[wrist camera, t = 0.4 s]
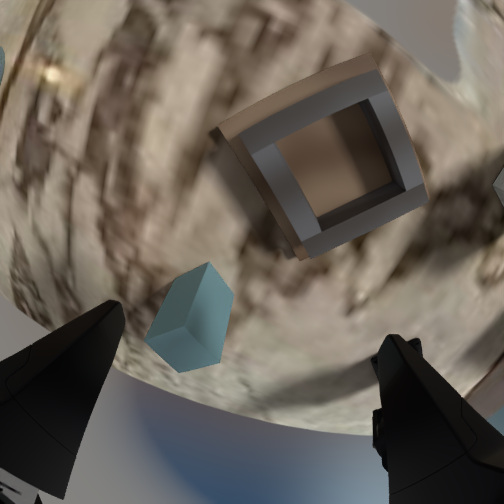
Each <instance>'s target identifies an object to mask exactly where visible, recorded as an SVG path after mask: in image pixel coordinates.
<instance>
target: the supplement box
mask: <svg viewBox="0 0 504 504" xmlns="http://www.w3.org/2000/svg"><path fill="white" fill-rule="evenodd" d="M493 187H494V189H495V191H496V193H497V195H498V197H499V199H500V201H501V203H502V205H503V207H504V168H503V169H502V171H501V172H500V174H499V176H498V177H497V179H496V180H495V182H494V183H493Z"/></svg>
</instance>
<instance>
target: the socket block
mask: <svg viewBox="0 0 504 504" xmlns="http://www.w3.org/2000/svg"><path fill="white" fill-rule="evenodd" d="M218 127H219V129H220V130H221V132H222V134H223V135H224V137H225V138H226V140H227V141H228V143H229V144H230V146H231V148H232V149H233V151H234V152H235V154H236V156H237V157H238V159H239V160H240V162H241V164H242V165H243V167H244V168H245V170H246V172H247V173H248V175H249V176H250V178H251V180H252V181H253V183H254V185H255V186H256V188H257V190H258V191H259V193H260V194H261V196H262V198H263V199H264V201H265V203H266V204H267V206H268V208H269V209H270V211H271V213H272V214H273V216H274V218H275V220H276V221H277V223H278V225H279V226H280V228H281V230H282V231H283V233H284V235H285V237H286V238H287V240H288V242H289V244H290V245H291V247H292V249H293V250H294V252H295V254H296V256H297V257H298V259H299V261H302V260H304V259H306V258H308V257H310V258H311V259H312V258H314V257H316V256H318V255H320V254H322V253H325V252H327V251H329V250H331V249H333V248H335V247H338V246H340V245H342V244H344V243H346V242H348V241H350V240H352V239H354V238H357V237H359V236H361V235H363V234H365V233H367V232H369V231H371V230H373V229H375V228H377V227H379V226H381V225H384V224H386V223H388V222H390V221H392V220H394V219H396V218H398V217H400V216H402V215H404V214H406V213H408V212H410V211H412V210H414V209H416V208H418V207H420V206H422V205H424V204H426V203H428V202H429V200H428V199H430V197H429V193H428V189H427V186H426V182H425V179H424V176H423V172H422V169H421V166H420V163H419V160H418V157H417V154H416V151H415V148H414V146H413V143H412V140H411V137H410V135H409V132H408V130H407V127H406V125H405V122H404V120H403V118H402V115H401V113H400V111H399V108H398V106H397V104H396V102H395V100H394V97H393V95H392V93H391V91H390V89H389V87H388V85H387V83H386V81H385V79H384V77H383V75H382V74H381V72H380V70H379V68H378V66H377V64H376V63H375V61H374V59H373V57H372V56H371V54H370V53H367V54H364V55H362V56H359V57H356V58H353V59H351V60H348V61H345V62H343V63H340V64H338V65H335V66H333V67H330V68H328V69H326V70H323V71H321V72H319V73H316V74H314V75H312V76H310V77H307V78H305V79H303V80H301V81H299V82H297V83H294V84H292V85H290V86H288V87H286V88H284V89H282V90H280V91H278V92H276V93H274V94H272V95H270V96H269V97H267V98H265V99H263V100H261V101H259V102H257V103H255V104H254V105H252V106H250V107H248V108H247V109H245V110H243V111H241V112H240V113H238V114H236V115H234V116H233V117H231V118H229V119H228V120H226V121H224V122H223V123H221V124H219V125H218Z"/></svg>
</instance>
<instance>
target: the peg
mask: <svg viewBox="0 0 504 504" xmlns="http://www.w3.org/2000/svg"><path fill="white" fill-rule="evenodd" d="M233 298H234V294H233V292H232V291H231V290H230V288H229V287H228V286H227V284H226V283H225V282H224V280H223V279H222V278H221V276H220V275H219V274H218V272H217V271H216V270H215V268H214V267H213V266H212V264H211V263H210V262H207V263H205V264H203V265H201V266H199V267H197V268H195V269H193V270H191V271H189V272H187V273H185V274H183V275H182V276H180V277H178V278H176V279H175V280H174V282H173V284H172V286H171V288H170V290H169V292H168V294H167V295H166V297H165V299H164V301H163V303H162V305H161V307H160V309H159V311H158V313H157V315H156V317H155V319H154V321H153V323H152V325H151V327H150V329H149V331H148V333H147V335H146V337H145V339H144V341H145V342H146V343H147V344H148V345H149V346H150V347H151V348H152V349H153V350H154V351H155V352H156V353H157V354H158V355H159V356H160V357H161V358H162V359H164V360H165V361H166V362H167V363H168V364H169V365H170V366H171V367H172V368H174V369H175V370H176V371H177V372H178V373H182V372H186V371H190V370H194V369H198V368H202V367H206V366H210V365H214V364H217V363H220V359H221V354H222V350H223V345H224V340H225V335H226V331H227V326H228V321H229V316H230V312H231V307H232V302H233Z"/></svg>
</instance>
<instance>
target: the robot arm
mask: <svg viewBox="0 0 504 504" xmlns="http://www.w3.org/2000/svg"><path fill="white" fill-rule="evenodd" d="M125 322H126V321H125V316H124V312H123V308H122V304H121V303H120V302H119V301H115V300H108V301H106V302H104V303H102V304H100V305H99V306H97V307H95V308H93V309H92V310H90V311H88V312H86V313H84V314H83V315H81V316H79V317H77V318H76V319H74V320H72V321H70V322H69V323H67V324H65V325H63V326H62V327H60V328H58V329H57V330H55V331H53V332H51V333H50V334H48V335H46V336H45V337H43V338H41V339H39V340H38V341H36V342H34V343H33V344H32V345H29V346H28V347H26V348H24V349H23V350H21V351H19V352H17V353H16V354H14V355H12V356H10V357H8V358H6V359H4V360H3V361H1V362H0V504H42V502H41V499H40V497H39V495H38V491H39V490H42V491H44V492H46V493H48V494H50V495H53V496H55V497H57V498H60V499H62V500H63V499H64V496H65V493H66V489H67V486H68V482H69V479H70V475H71V472H72V468H73V465H74V462H75V459H76V455H77V453H78V449H79V447H80V443H81V441H82V438H83V435H84V432H85V429H86V427H87V424H88V421H89V419H90V416H91V413H92V411H93V408H94V406H95V403H96V401H97V398H98V396H99V393H100V391H101V388H102V386H103V384H104V381H105V379H106V377H107V374H108V372H109V369H110V367H111V365H112V363H113V360H114V357H115V354H116V351H117V348H118V345H119V342H120V339H121V336H122V333H123V330H124V327H125ZM371 363H372V365H373V368H374V370H375V373H376V375H377V378H378V380H379V389H380V399H381V406H382V408H380V409H376V410H374V411H373V417H372V420H373V448H375V449H376V450H377V452H378V454H379V455H380V456H381V457H382V465H383V467H384V469H385V470H386V471H387V472H388V477H389V504H504V436H503V435H502V434H501V433H500V432H499V431H497V430H496V429H495V428H494V427H493V426H492V425H491V424H489V422H487V421H486V420H485V419H484V418H483V417H482V416H481V415H480V414H479V413H478V412H476V411H475V410H474V409H473V407H472V406H471V405H470V404H469V403H468V402H467V401H466V400H465V399H464V398H463V397H461V395H460V394H459V393H458V392H457V391H456V390H455V389H454V388H453V387H452V386H451V385H450V384H449V383H448V382H447V381H446V380H445V379H444V378H443V377H442V376H441V375H440V374H439V373H438V372H437V371H436V370H435V369H434V368H433V367H432V366H431V365H430V364H429V363H428V362H427V361H426V360H425V359H424V358H423V354H422V346H421V341H420V339H419V338H416V339H414V340H412V341H410V342H408V343H407V342H406V341H405V340H404V339H403V338H402V337H401V336H400V335H398V334H389V335H387V336H386V338H385V340H384V341H383V343H382V345H381V347H380V349H379V351H378V356H376V357H374V358H372V359H371Z"/></svg>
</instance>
